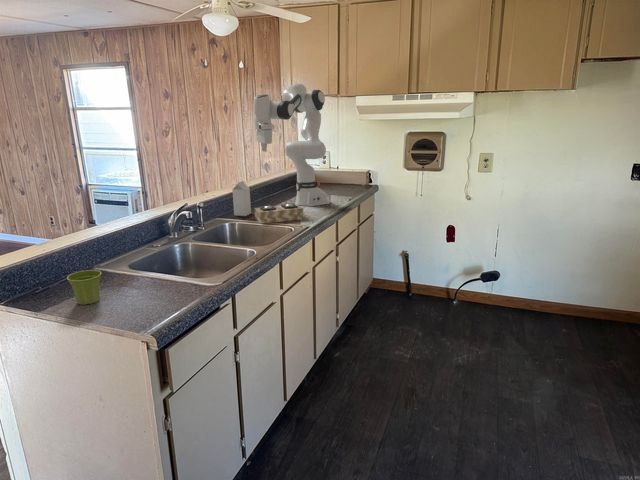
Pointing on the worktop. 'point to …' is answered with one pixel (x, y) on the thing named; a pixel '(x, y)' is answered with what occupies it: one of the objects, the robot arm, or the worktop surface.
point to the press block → (278, 213)
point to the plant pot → (85, 286)
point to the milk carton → (241, 199)
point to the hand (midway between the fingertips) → (264, 151)
